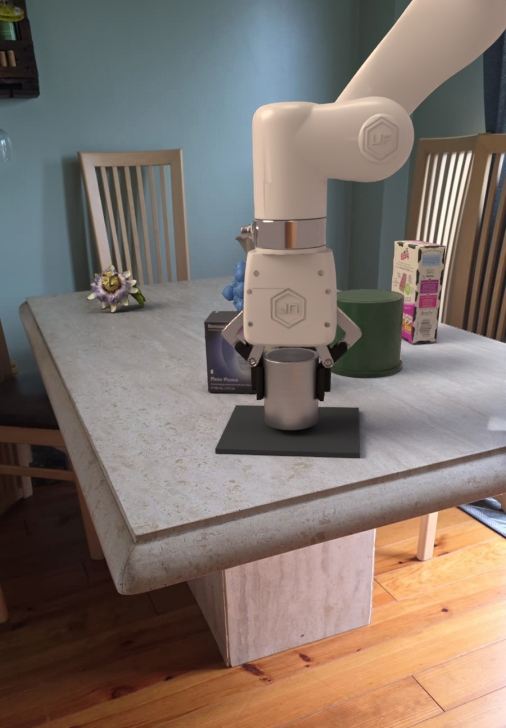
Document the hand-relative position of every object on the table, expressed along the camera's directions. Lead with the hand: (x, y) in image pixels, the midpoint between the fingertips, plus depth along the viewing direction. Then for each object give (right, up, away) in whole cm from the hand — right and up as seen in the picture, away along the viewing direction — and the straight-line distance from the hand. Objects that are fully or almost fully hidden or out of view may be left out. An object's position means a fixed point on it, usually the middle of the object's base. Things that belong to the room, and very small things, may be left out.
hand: (291, 395), depth 73 cm
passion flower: (-36, +26, +73) cm, 85 cm away
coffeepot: (0, +29, +75) cm, 80 cm away
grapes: (-7, +20, +56) cm, 60 cm away
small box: (-5, +3, +18) cm, 18 cm away
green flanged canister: (+13, +7, +25) cm, 29 cm away
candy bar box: (+25, +14, +41) cm, 50 cm away
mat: (0, -4, +2) cm, 5 cm away
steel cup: (0, -3, +1) cm, 3 cm away
